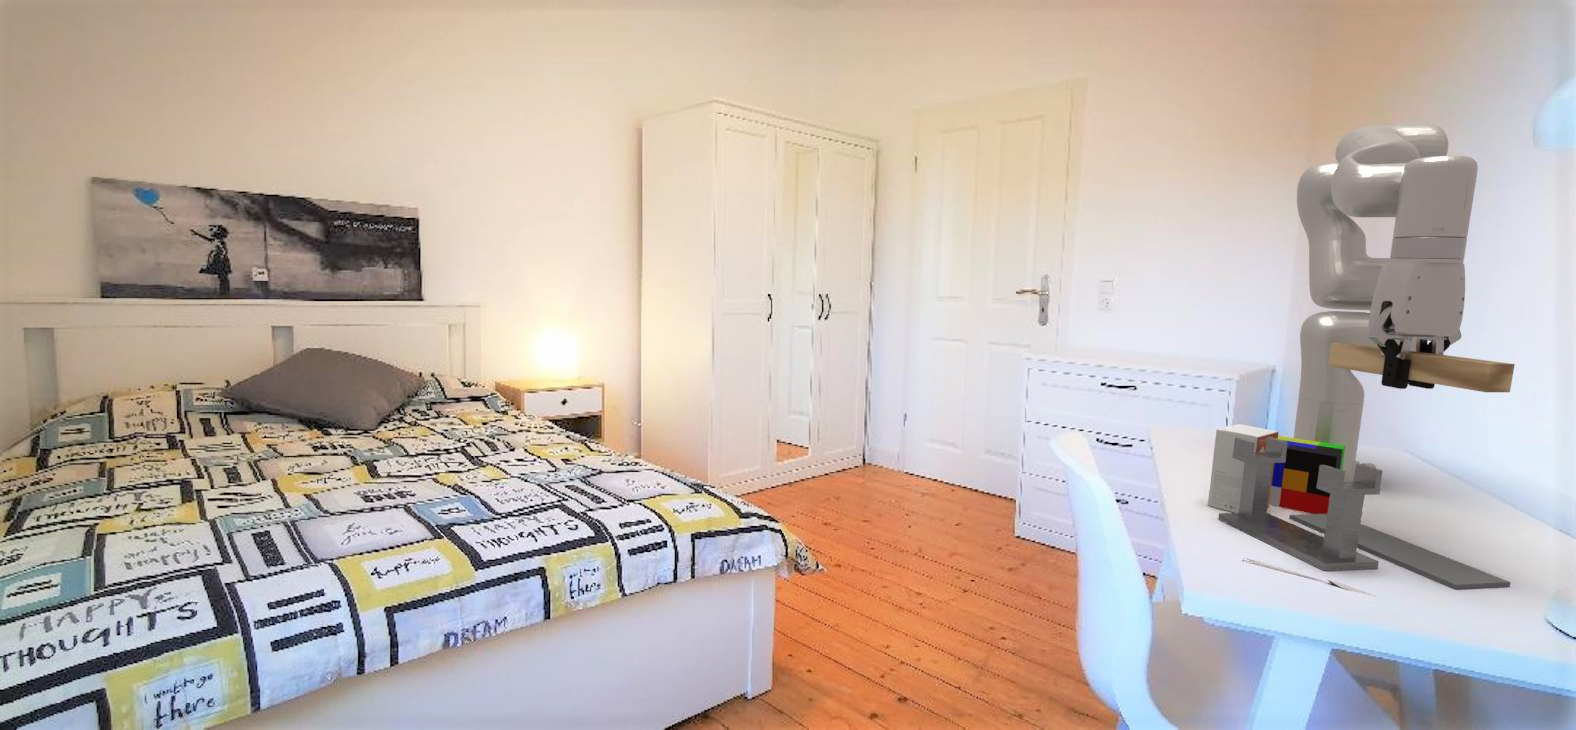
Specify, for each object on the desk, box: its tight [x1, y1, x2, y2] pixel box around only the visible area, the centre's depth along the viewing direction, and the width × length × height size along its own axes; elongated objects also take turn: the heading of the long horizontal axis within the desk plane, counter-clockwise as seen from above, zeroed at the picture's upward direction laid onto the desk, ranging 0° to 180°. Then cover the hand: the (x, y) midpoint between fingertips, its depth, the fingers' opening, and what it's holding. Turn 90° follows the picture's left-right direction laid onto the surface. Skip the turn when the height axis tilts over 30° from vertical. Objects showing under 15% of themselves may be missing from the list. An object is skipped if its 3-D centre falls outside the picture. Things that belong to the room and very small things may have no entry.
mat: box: [1288, 513, 1511, 590], centre depth 103 cm, size 8×25×1 cm, turn 8°
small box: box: [1207, 423, 1280, 513], centre depth 118 cm, size 8×6×13 cm
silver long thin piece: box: [1242, 557, 1378, 598], centre depth 91 cm, size 4×1×19 cm
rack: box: [1217, 437, 1383, 572], centre depth 103 cm, size 8×19×13 cm, turn 8°
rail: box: [1328, 343, 1516, 393], centre depth 99 cm, size 4×22×4 cm, turn 8°
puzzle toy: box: [1269, 435, 1345, 514], centre depth 122 cm, size 10×10×10 cm
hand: (1407, 385), depth 100 cm, fingers closed on rail, 3 cm apart
